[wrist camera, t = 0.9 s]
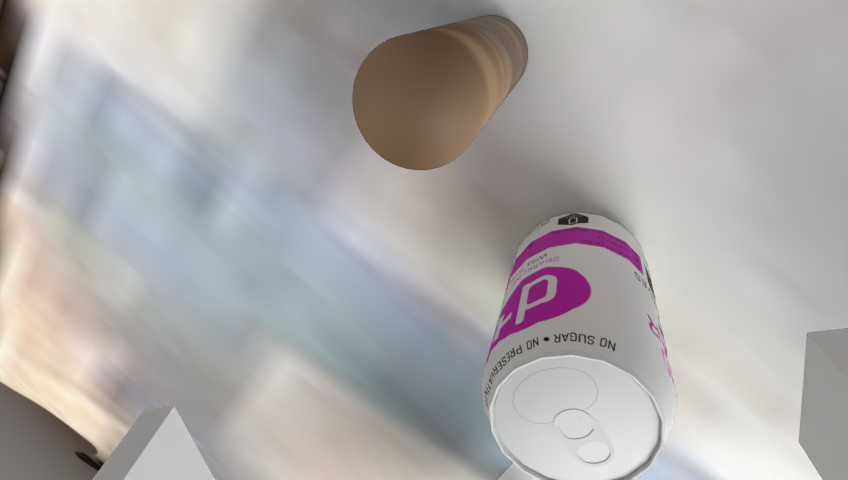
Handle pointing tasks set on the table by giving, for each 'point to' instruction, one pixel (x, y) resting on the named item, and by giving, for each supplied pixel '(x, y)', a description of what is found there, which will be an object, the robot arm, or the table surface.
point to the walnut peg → (436, 89)
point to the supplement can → (579, 356)
